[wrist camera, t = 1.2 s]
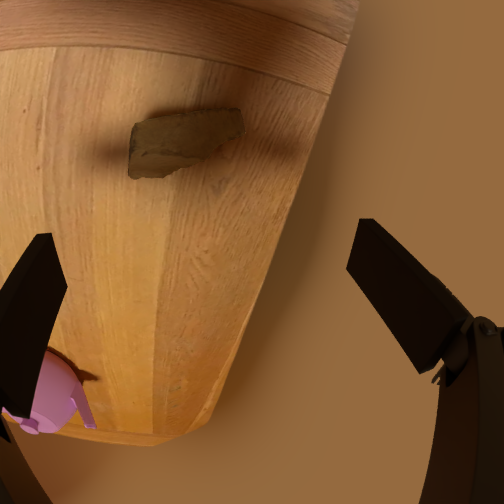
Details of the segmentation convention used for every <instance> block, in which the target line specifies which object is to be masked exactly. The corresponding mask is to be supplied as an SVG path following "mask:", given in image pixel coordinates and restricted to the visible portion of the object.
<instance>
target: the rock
mask: <svg viewBox="0 0 504 504" xmlns="http://www.w3.org/2000/svg"><path fill="white" fill-rule="evenodd" d="M245 132H246V131H245V127H244V123H243V117H242V114H241V111H240V109H238V108H228V109H227V108H220V109H207V110H200V111H193V112H190V113H187V114H185V113H181V114H177V115H168V116H163V117H159V118H153V119H148V120H145V121H142V122H138V123H135V125H134V126H133V128H132V131H131V137H130V142H129V164H128V167H129V168H128V176H129V177H130V178H131V179H133V180H135V179H139V178H140V177H145V178H164V177H165V176H167V175H170V174H172V173H173V172H174V171H177V170H179V169H180V168H188V167H190V166H192V165H194V164H196V163H198V162H203V161H205V160H207V159H208V158H209V157H210V155H211V153H212V152H213V150H214V149H215V148H216V147H217V146H219V145H221V144H223V143H224V142H225V141H229V140H233V139H235V138H237V137H240V136H241V135H244V134H245Z"/></svg>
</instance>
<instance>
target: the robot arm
mask: <svg viewBox="0 0 504 504" xmlns="http://www.w3.org/2000/svg"><path fill="white" fill-rule="evenodd" d="M346 270H347V271H348V272H349V274H350V275H351V276H352V278H353V279H354V280H355V282H356V283H357V284H358V286H359V287H360V289H361V290H362V291H363V293H364V294H365V295H366V297H367V298H368V300H369V301H370V302H371V304H372V305H373V307H374V308H375V309H376V311H377V312H378V314H379V315H380V316H381V318H382V319H383V321H384V322H385V324H386V325H387V327H388V328H389V329H390V331H391V332H392V334H393V335H394V337H395V338H396V339H397V341H398V342H399V344H400V346H401V347H402V349H403V350H404V352H405V353H406V355H407V356H408V357H409V359H410V361H411V362H412V363H413V365H414V367H415V368H416V370H417V371H418V373H419V374H421V373H424V372H426V371H429V370H431V369H433V368H434V367H435V366H436V364H437V363H438V361H439V360H440V359H441V358H442V360H443V361H444V365H443V366H442V367H441V368H440V370H439V371H438V372H437V374H436V375H435V376H434V378H433V379H432V383H434V382H435V381H436V380H437V378H438V377H440V380H439V382H438V383H437V385H440V387H439V399H438V409H437V417H436V425H435V431H434V438H433V444H432V449H431V455H430V460H429V465H428V469H427V474H426V478H425V482H424V486H423V490H422V494H421V498H420V501H419V504H504V327H497V326H496V325H495V324H494V323H493V322H492V321H491V320H489V319H487V318H486V317H482V316H479V317H476V318H474V317H473V316H472V315H471V314H470V313H469V311H468V310H467V309H466V308H465V307H464V306H463V305H462V303H461V302H460V301H459V300H458V299H457V298H456V297H455V296H454V295H452V292H451V291H450V290H449V289H448V288H446V286H445V285H444V284H443V283H442V282H441V281H440V280H439V279H438V278H437V277H435V276H434V275H432V274H431V273H430V272H429V271H428V270H427V269H426V268H425V267H424V266H423V265H422V264H421V263H420V262H418V260H417V259H416V258H414V256H412V254H410V253H409V252H408V251H407V250H406V249H405V248H404V247H403V246H402V245H401V244H400V243H399V242H398V241H397V240H396V239H395V238H394V237H393V236H392V235H391V234H389V233H388V232H387V231H386V230H385V229H384V228H383V227H382V226H381V225H380V224H378V223H377V222H376V221H375V220H374V219H359V223H358V227H357V231H356V234H355V239H354V242H353V246H352V249H351V253H350V257H349V260H348V264H347V267H346ZM67 287H68V286H67V283H66V280H65V277H64V274H63V271H62V268H61V265H60V261H59V258H58V255H57V251H56V248H55V244H54V240H53V237H52V233H43V234H36V236H35V237H34V238H33V240H32V241H31V243H30V244H29V246H28V247H27V248H26V250H25V251H24V253H23V254H22V256H21V257H20V259H19V261H18V262H17V264H16V265H15V267H14V268H13V270H12V272H11V273H10V275H9V277H8V278H7V280H6V282H5V283H4V285H3V287H2V288H1V290H0V504H53V503H52V502H51V500H50V499H49V497H48V496H47V494H46V493H45V491H44V490H43V488H42V487H41V485H40V483H39V482H38V480H37V479H36V477H35V475H34V474H33V472H32V470H31V469H30V467H29V465H28V463H27V462H26V460H25V458H24V456H23V454H22V453H21V451H20V449H19V447H18V445H17V443H16V441H15V439H14V437H13V435H12V433H11V430H10V428H9V426H8V424H7V422H6V420H5V418H4V417H3V416H2V415H1V413H2V409H3V407H4V408H5V409H6V410H7V411H8V412H9V413H10V414H11V415H12V416H15V417H20V418H25V419H30V415H31V410H32V405H33V400H34V395H35V391H36V386H37V382H38V378H39V374H40V370H41V366H42V363H43V359H44V355H45V352H46V349H47V345H48V342H49V339H50V335H51V332H52V329H53V326H54V323H55V320H56V317H57V314H58V312H59V309H60V306H61V303H62V301H63V298H64V295H65V293H66V290H67Z"/></svg>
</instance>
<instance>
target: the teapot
mask: <svg viewBox="0 0 504 504" xmlns="http://www.w3.org/2000/svg"><path fill="white" fill-rule="evenodd" d="M77 408H78V411H79V413H80V415H81V417H82V419H83V421H84V425H85V427H86V428H94V429H97V427H96V424H95V421H94V419H93V416H92V413H91V410H90V408H89V405H88V402H87V399H86V396H85V393H84V390H83V387H82V385H81V382H79V380H78V378H77V376H76V375H75V373H74V372H73V370H72V369H71V367H70V366H69V365H68V364H67V363H66V362H65V361H63V360H62V359H61V358H60V357H58V356H57V355H55V354H53V353H51V352H49V351H47V350H46V352H45V355H44V359H43V363H42V366H41V370H40V374H39V378H38V382H37V386H36V391H35V395H34V400H33V405H32V410H31V415H30V419H25V418H20V417H15V416H12V415H11V414H10V413H9V412H8V411H7V410H6V409H5V408H4V407H3V409H2V412H5V413H8V415H9V416H10V417H12V418H13V419H14V420H15V421H17V422H18V423H20V427H21V428H22V429H23V430H25V431H26V432H28V433H31V434H38V431H40V432H45V433H53V432H56V431H58V430H59V429H60V428H62V427H63V426H64V425H65V424H66V423H67V422H68V421H69V420H70V419H71V417H72V416H73V415H74V414H75V412H76V410H77Z"/></svg>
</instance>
